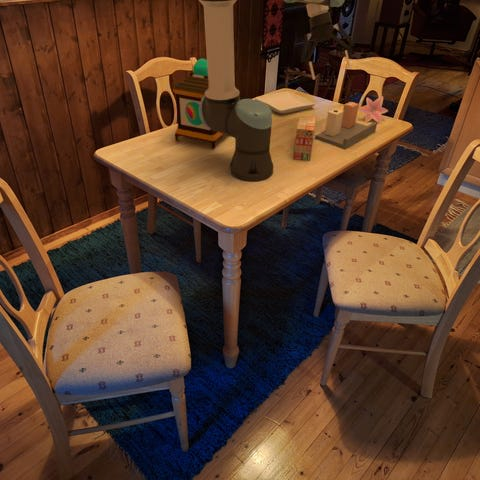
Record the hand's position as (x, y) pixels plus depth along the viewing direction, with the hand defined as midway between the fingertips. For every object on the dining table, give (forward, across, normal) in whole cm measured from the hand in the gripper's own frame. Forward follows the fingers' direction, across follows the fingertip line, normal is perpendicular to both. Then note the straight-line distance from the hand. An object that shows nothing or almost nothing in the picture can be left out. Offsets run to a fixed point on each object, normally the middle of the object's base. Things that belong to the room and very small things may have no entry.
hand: (331, 73), depth 161 cm
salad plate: (+11, +25, -30) cm, 41 cm away
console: (+25, 0, -3) cm, 25 cm away
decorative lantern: (+8, +52, +14) cm, 55 cm away
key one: (+22, +4, +1) cm, 23 cm away
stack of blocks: (+22, +16, +14) cm, 31 cm away
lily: (+26, -12, -23) cm, 36 cm away
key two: (+23, -2, -9) cm, 24 cm away
